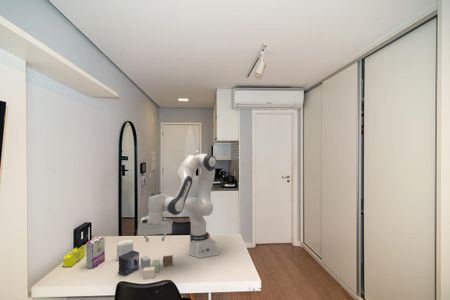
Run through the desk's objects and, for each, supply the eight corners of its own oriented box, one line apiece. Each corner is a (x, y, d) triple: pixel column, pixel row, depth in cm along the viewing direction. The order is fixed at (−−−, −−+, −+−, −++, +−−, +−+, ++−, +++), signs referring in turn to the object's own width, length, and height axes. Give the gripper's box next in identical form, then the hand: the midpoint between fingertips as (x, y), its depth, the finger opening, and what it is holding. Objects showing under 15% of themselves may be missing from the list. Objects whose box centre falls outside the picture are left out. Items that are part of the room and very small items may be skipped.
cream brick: (144, 275, 139) (144, 267, 139) (154, 274, 141) (154, 266, 141) (143, 279, 136) (143, 270, 135) (154, 278, 137) (154, 269, 137)
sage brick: (159, 267, 149) (159, 259, 149) (158, 272, 143) (158, 264, 143) (152, 268, 148) (152, 260, 148) (151, 273, 142) (151, 265, 142)
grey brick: (146, 263, 155) (146, 255, 155) (150, 266, 150) (150, 258, 150) (140, 265, 152) (140, 257, 152) (144, 268, 147) (144, 260, 147)
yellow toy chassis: (72, 267, 149) (72, 254, 149) (62, 268, 149) (62, 254, 149) (85, 256, 165) (85, 244, 165) (76, 256, 165) (76, 244, 164)
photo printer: (132, 255, 166) (132, 238, 165) (133, 257, 162) (133, 240, 162) (116, 259, 160) (116, 241, 160) (117, 261, 156) (117, 243, 156)
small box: (125, 276, 138) (125, 259, 138) (117, 273, 141) (117, 256, 141) (139, 268, 147) (139, 252, 147) (132, 266, 151) (132, 249, 151)
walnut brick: (163, 263, 154) (163, 256, 154) (172, 262, 155) (172, 255, 155) (162, 266, 150) (162, 258, 150) (172, 265, 151) (172, 258, 151)
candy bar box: (98, 260, 159) (98, 235, 159) (105, 260, 158) (104, 236, 158) (85, 268, 148) (85, 242, 148) (92, 269, 147) (92, 243, 147)
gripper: (172, 216, 151) (172, 238, 150) (139, 217, 147) (139, 240, 147) (172, 219, 144) (172, 242, 144) (137, 220, 141) (137, 244, 141)
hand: (155, 241), depth 146 cm, fingers open, 8 cm apart
